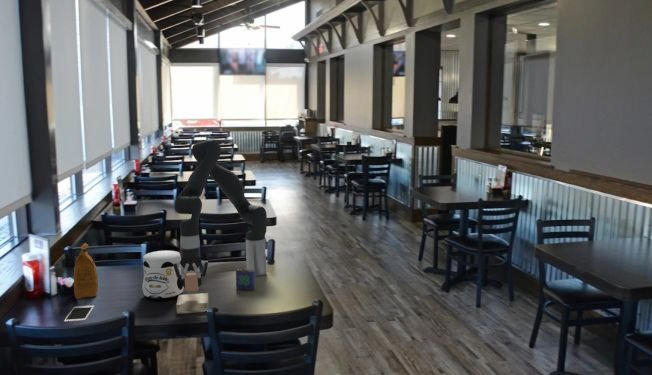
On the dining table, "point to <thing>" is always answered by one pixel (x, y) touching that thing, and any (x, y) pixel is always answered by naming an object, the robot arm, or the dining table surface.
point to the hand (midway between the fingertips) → (191, 286)
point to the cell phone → (79, 313)
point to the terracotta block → (191, 282)
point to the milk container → (161, 275)
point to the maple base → (192, 303)
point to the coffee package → (85, 275)
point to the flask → (245, 279)
